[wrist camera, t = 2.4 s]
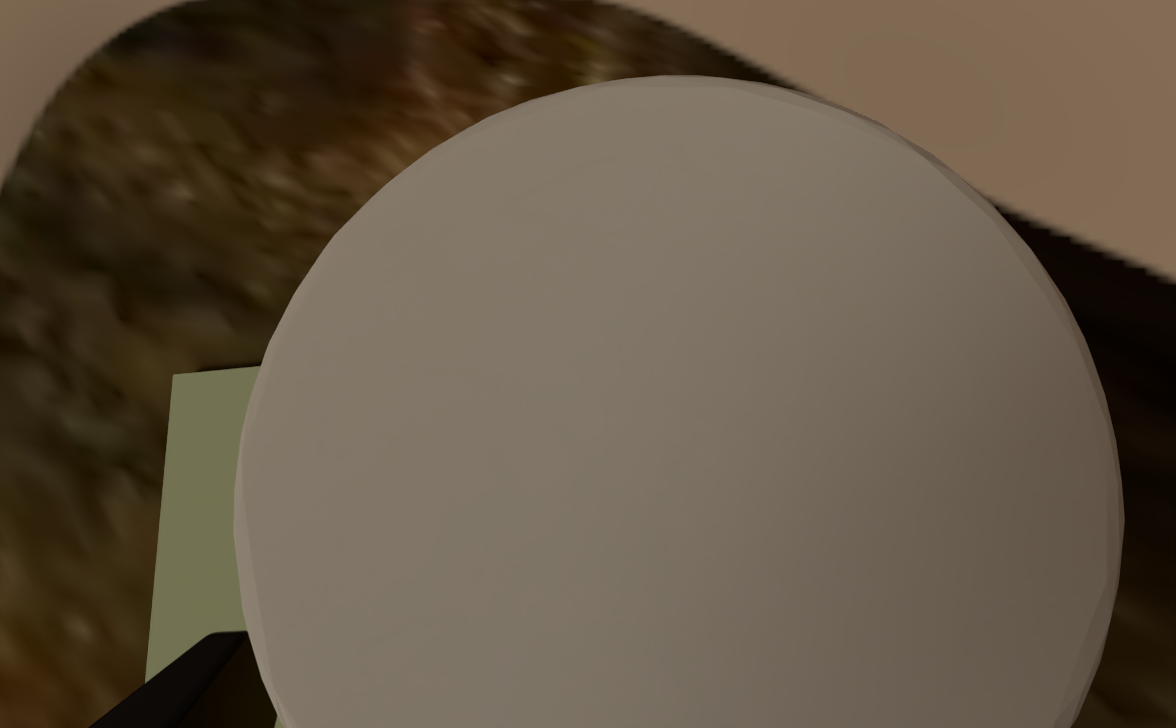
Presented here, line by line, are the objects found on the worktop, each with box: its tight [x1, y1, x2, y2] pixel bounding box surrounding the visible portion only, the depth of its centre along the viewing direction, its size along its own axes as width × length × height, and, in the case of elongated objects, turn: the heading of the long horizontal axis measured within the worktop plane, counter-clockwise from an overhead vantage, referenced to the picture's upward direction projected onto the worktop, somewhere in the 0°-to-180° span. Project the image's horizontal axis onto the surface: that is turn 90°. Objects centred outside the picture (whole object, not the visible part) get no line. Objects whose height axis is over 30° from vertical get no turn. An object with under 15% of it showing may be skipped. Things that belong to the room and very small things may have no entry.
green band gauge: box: [145, 366, 284, 728], centre depth 16 cm, size 13×16×1 cm
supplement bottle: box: [233, 75, 1125, 728], centre depth 11 cm, size 7×7×13 cm
